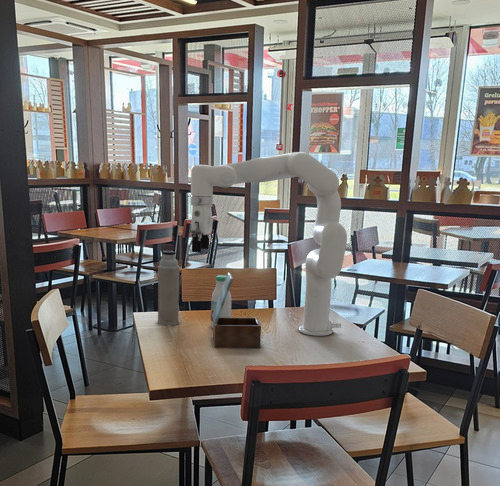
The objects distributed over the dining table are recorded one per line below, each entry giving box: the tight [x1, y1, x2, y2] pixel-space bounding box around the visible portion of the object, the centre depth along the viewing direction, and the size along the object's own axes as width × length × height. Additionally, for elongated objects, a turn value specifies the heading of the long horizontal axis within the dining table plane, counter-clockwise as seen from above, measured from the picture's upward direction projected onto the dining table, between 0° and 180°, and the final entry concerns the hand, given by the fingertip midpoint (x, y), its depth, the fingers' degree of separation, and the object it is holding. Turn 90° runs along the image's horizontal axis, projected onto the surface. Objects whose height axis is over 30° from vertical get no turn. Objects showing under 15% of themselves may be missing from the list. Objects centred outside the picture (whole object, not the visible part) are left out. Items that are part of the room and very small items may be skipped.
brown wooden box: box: [212, 316, 262, 349], centre depth 200 cm, size 16×11×8 cm
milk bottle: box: [210, 274, 232, 329], centre depth 218 cm, size 8×8×20 cm
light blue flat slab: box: [212, 272, 234, 324], centre depth 197 cm, size 16×11×1 cm
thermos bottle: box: [157, 250, 180, 327], centre depth 220 cm, size 8×8×28 cm
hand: (200, 250), depth 202 cm, fingers open, 9 cm apart
